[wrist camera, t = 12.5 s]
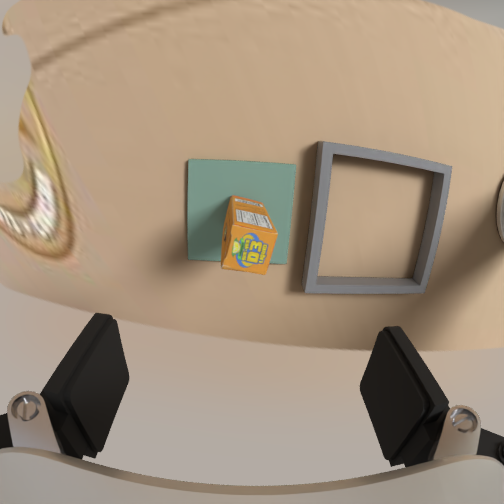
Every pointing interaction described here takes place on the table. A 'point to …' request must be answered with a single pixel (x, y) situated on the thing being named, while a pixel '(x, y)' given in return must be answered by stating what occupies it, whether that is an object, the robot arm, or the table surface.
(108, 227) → the table surface
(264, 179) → the mat
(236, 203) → the supplement box
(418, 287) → the gray square frame
